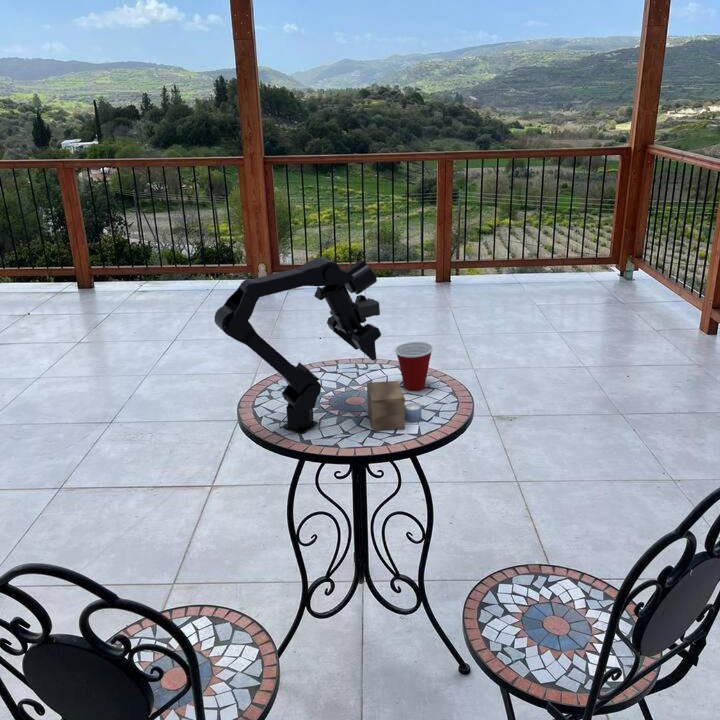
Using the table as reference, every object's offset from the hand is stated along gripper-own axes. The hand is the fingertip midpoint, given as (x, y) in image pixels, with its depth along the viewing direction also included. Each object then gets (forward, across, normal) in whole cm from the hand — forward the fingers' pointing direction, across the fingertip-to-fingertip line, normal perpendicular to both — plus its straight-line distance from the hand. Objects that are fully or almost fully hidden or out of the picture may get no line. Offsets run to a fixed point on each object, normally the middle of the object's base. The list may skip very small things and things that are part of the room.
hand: (366, 354), depth 173 cm
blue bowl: (+17, -10, 0) cm, 20 cm away
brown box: (+15, -8, +6) cm, 18 cm away
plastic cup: (+22, +7, -10) cm, 25 cm away
